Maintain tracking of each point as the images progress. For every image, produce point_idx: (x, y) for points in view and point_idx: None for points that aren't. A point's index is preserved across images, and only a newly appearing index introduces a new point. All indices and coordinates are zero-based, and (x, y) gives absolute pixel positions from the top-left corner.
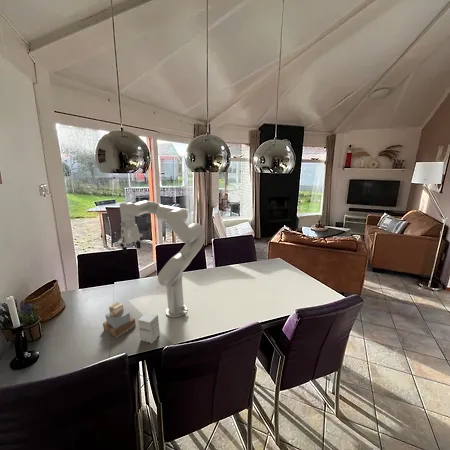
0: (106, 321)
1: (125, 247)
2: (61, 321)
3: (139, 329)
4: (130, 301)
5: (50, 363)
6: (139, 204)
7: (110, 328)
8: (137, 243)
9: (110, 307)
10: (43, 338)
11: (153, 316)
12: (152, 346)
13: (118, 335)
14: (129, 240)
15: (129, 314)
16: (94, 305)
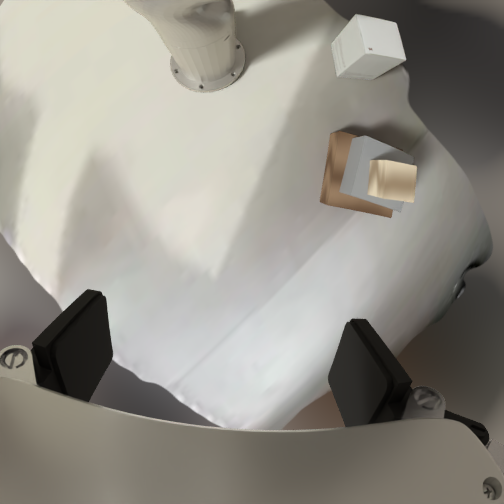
0: (381, 214)
1: (405, 383)
2: None
3: (389, 69)
4: (219, 265)
5: (471, 232)
6: None
7: None
8: (74, 377)
9: (413, 193)
10: (426, 322)
11: (370, 22)
12: None
13: None
14: (431, 482)
15: (363, 136)
16: (287, 349)
